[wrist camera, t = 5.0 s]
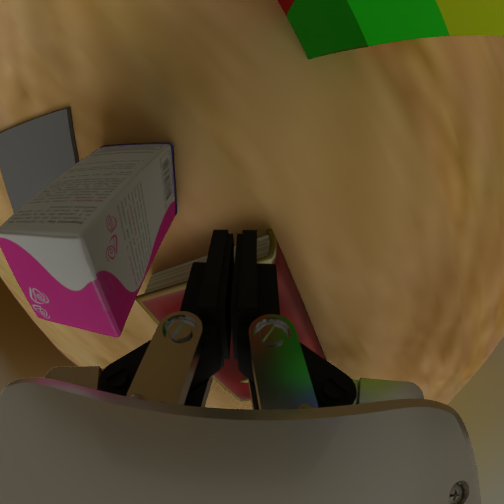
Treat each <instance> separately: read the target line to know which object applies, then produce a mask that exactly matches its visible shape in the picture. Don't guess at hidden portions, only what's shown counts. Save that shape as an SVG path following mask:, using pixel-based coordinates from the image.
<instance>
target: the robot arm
mask: <svg viewBox="0 0 504 504" xmlns="http://www.w3.org/2000/svg"><path fill="white" fill-rule="evenodd" d="M231 334H232V341H233V355H234V360H238V368H239V371H240V372H241V373H242V374H243V375H244V376H246V377H247V378H248V383H249V390H250V396H251V402H252V409H253V410H243V409H221V408H207V407H205V404H206V400H207V397H208V393H209V390H210V386H211V383H212V377H213V375H214V374H215V373H217V372H218V371H219V370H221V367H224V359H230V347H231ZM0 504H481V498H480V488H479V480H478V472H477V466H476V462H475V457H474V453H473V449H472V444H471V441H470V438H469V435H468V432H467V430H466V427H465V425H464V422H463V421H462V419H461V417H460V415H459V414H458V413H457V412H456V411H455V410H454V409H453V408H452V407H450V406H448V405H446V404H443V403H440V402H437V401H433V400H427V399H424V396H423V392H422V390H421V389H420V388H419V386H417V385H416V384H414V383H411V382H404V381H389V380H377V379H366V378H360V380H352V379H351V378H350V377H349V376H348V375H346V374H345V373H343V372H342V371H341V370H339V369H338V368H336V367H335V366H333V365H332V364H330V363H329V362H328V361H326V360H325V359H323V358H322V357H320V356H319V355H318V354H316V353H315V352H313V351H312V350H311V349H309V348H308V347H306V346H305V345H304V344H302V343H301V342H299V339H298V336H297V332H296V329H295V327H294V325H293V323H292V322H291V321H290V320H288V319H287V318H285V317H283V316H280V306H279V293H278V280H277V268H276V264H265V263H257V230H243V234H237V242H236V252H235V262H234V238H233V234H228V230H214V231H213V235H212V239H211V244H210V248H209V252H208V257H207V261H206V262H193V264H192V267H191V271H190V274H189V278H188V282H187V285H186V289H185V293H184V297H183V301H182V304H181V308H180V311H178V312H173V313H171V314H169V315H167V316H166V317H164V318H163V319H162V320H161V322H160V323H159V325H158V327H157V329H156V331H155V333H154V335H153V337H152V340H150V341H148V342H147V343H145V344H143V345H142V346H140V347H138V348H137V349H135V350H133V351H132V352H130V353H128V354H127V355H125V356H123V357H121V358H120V359H118V360H116V361H115V362H113V363H111V364H110V365H108V366H107V367H106V368H105V369H101V368H100V367H99V366H87V367H54V368H52V369H51V370H49V371H48V373H47V374H46V376H45V378H40V377H34V378H23V379H19V380H15V381H13V382H11V383H9V384H8V385H6V386H5V388H4V389H3V390H2V392H1V393H0Z"/></svg>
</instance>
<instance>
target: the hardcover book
mask: <svg viewBox="0 0 504 504" xmlns="http://www.w3.org/2000/svg"><path fill="white" fill-rule="evenodd" d="M267 233H268V235H265V236H262V237H259V238H257V263H265V264H276V268H277V280H278V293H279V306H280V316H283V317H285V318H287V319H288V320H290V321H291V322H292V323H293V325H294V327H295V329H296V332H297V336H298V339H299V342H301V343H302V344H304V345H305V346H306V347H308V348H309V349H311V350H312V351H313V352H315V353H316V354H318V355H319V356H320V357H322V358H323V359H325V356H324V354H323V351H322V348H321V346H320V343H319V341H318V338H317V336H316V334H315V331H314V329H313V326H312V324H311V321H310V319H309V316H308V314H307V311H306V309H305V307H304V304H303V302H302V299H301V297H300V294H299V292H298V290H297V287H296V285H295V283H294V280H293V278H292V275H291V273H290V271H289V268H288V266H287V264H286V261H285V259H284V257H283V254H282V252H281V250H280V247H279V245H278V243H277V240H276V238H275V236H274V234H273V231H272V229H269V230H267ZM235 252H236V245H235V246H234V262H235ZM207 257H208V255H206V256H203V257H200V258H197V259H194V260H191V261H188V262H185V263H182V264H179V265H176V266H173V267H171V268H168V269H165V270H162V271H159V272H156V273H153V274H152V276H151V279H150V281H149V284H148V286H147V289H146V291H145V294H142V295H139V296H136V299H135V300H136V301H137V302H138V303H139V304H140V306H141V307H142V308H143V309H144V310H145V311H146V312H147V313H148V314H149V315H150V317H151V318H152V319H153V320H154V321H155V322H156V323H157V324H158V325H159V323H160V322H161V320H162V319H163V318H164V317H166V316H167V315H169V314H171V313H173V312H178V311H180V308H181V304H182V301H183V297H184V293H185V289H186V285H187V282H188V278H189V274H190V271H191V267H192V264H193V262H206V261H207ZM325 360H326V359H325ZM212 378H214V379H215V380H216V381H217V382H218V383H219V384H220V385H222V386H223V387H224V388H225V389H226V390H227V391H229V392H230V393H231V394H232V395H233V396H234V397H236V398H237V399H238V400H239V401H248V400H251V396H250V390H249V383H248V378H247V377H246V376H244V375H243V374H242V373H241V372H240V371H239V368H238V360H234V355H233V341H232V334H231V347H230V359H224V367H221V370H219V371H218V372H217V373H215V374H214V375H213V377H212Z"/></svg>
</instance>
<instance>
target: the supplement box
mask: <svg viewBox="0 0 504 504" xmlns="http://www.w3.org/2000/svg"><path fill="white" fill-rule="evenodd" d="M176 214H177V204H176V187H175V170H174V153H173V143H167V142H164V143H139V144H117V145H105V146H102V147H100V148H99V149H97V150H96V151H94V152H93V153H91V154H90V155H88V156H87V157H85V158H84V159H82V160H81V161H80V162H78V163H77V164H75V165H74V166H72V167H71V168H70V169H68V170H67V171H65V172H64V173H63V174H61V175H60V176H59V177H57V178H56V179H55V180H53V181H52V182H51V183H50V184H48V185H47V186H46V187H45V188H43V189H42V190H41V191H40V192H38V193H37V194H36V195H35V196H34V197H33V198H31V199H30V200H29V201H28V202H27V203H26V204H24V205H23V206H22V207H21V208H20V209H19V210H18V211H17V212H15V213H14V214H13V215H12V216H11V217H10V218H9V219H8V220H7V221H6V222H5V223H4V224H3V225H2V226H1V227H0V246H1V249H2V251H3V253H4V255H5V257H6V260H7V262H8V264H9V266H10V268H11V270H12V272H13V274H14V276H15V278H16V280H17V282H18V284H19V286H20V287H21V289H22V291H23V293H24V294H25V296H26V298H27V300H28V302H29V303H30V305H31V307H32V308H33V310H34V312H35V313H36V315H37V317H39V318H41V319H44V320H48V321H52V322H56V323H60V324H64V325H68V326H72V327H76V328H80V329H84V330H88V331H92V332H96V333H100V334H104V335H109V336H113V337H120V335H121V333H122V330H123V327H124V325H125V322H126V320H127V317H128V315H129V313H130V310H131V308H132V306H133V303H134V301H135V299H136V296H137V294H138V292H139V289H140V287H141V285H142V283H143V280H144V278H145V276H146V274H147V272H148V269H149V267H150V265H151V263H152V261H153V259H154V257H155V255H156V253H157V251H158V249H159V246H160V244H161V242H162V240H163V238H164V236H165V234H166V232H167V230H168V228H169V227H170V225H171V223H172V221H173V219H174V217H175V215H176Z"/></svg>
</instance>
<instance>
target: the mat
mask: <svg viewBox="0 0 504 504" xmlns="http://www.w3.org/2000/svg"><path fill="white" fill-rule="evenodd" d="M78 162H79V159H78V154H77V149H76V143H75V137H74V131H73V124H72V117H71V109H70V107H69V108H66V109H63V110H60V111H56V112H53V113H50V114H47V115H44V116H42V117H39V118H36V119H33V120H31V121H28V122H25V123H23V124H20V125H18V126H15V127H13V128H11V129H8V130H6V131H4V132H2V133H0V168H1V172H2V176H3V179H4V183H5V186H6V190H7V193H8V196H9V199H10V202H11V205H12V208H13V211H14V213H15V212H17V211H18V210H19V209H20V208H21V207H22V206H23V205H24V204H26V203H27V202H28V201H29V200H30V199H31V198H33V197H34V196H35V195H36V194H37V193H38V192H40V191H41V190H42V189H43V188H45V187H46V186H47V185H48V184H50V183H51V182H52V181H53V180H55V179H56V178H57V177H59V176H60V175H61V174H63V173H64V172H65V171H67V170H68V169H70V168H71V167H72V166H74V165H75V164H77V163H78Z"/></svg>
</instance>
